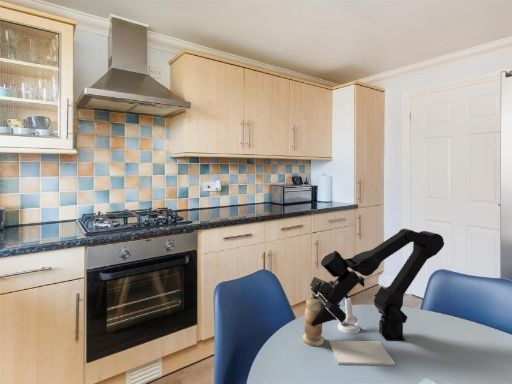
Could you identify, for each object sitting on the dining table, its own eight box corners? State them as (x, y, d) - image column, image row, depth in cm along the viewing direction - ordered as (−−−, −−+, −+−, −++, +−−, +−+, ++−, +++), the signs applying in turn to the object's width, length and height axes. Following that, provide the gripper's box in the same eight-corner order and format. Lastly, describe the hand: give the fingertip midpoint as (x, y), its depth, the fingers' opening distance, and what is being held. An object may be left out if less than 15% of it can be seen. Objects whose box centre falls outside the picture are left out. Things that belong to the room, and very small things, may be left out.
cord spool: (321, 335, 105) (322, 297, 105) (325, 346, 98) (326, 305, 98) (301, 335, 105) (301, 297, 105) (304, 346, 99) (304, 305, 98)
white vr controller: (350, 304, 119) (360, 299, 114) (354, 338, 113) (365, 334, 107) (332, 301, 118) (342, 296, 112) (335, 335, 111) (345, 332, 105)
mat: (379, 343, 100) (379, 341, 100) (394, 365, 88) (395, 363, 88) (329, 342, 101) (329, 340, 101) (338, 364, 89) (338, 362, 89)
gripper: (316, 262, 111) (285, 294, 110) (336, 278, 92) (300, 317, 91) (337, 283, 112) (307, 315, 111) (361, 303, 94) (325, 341, 93)
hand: (309, 320), depth 101 cm, fingers closed on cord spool, 6 cm apart
